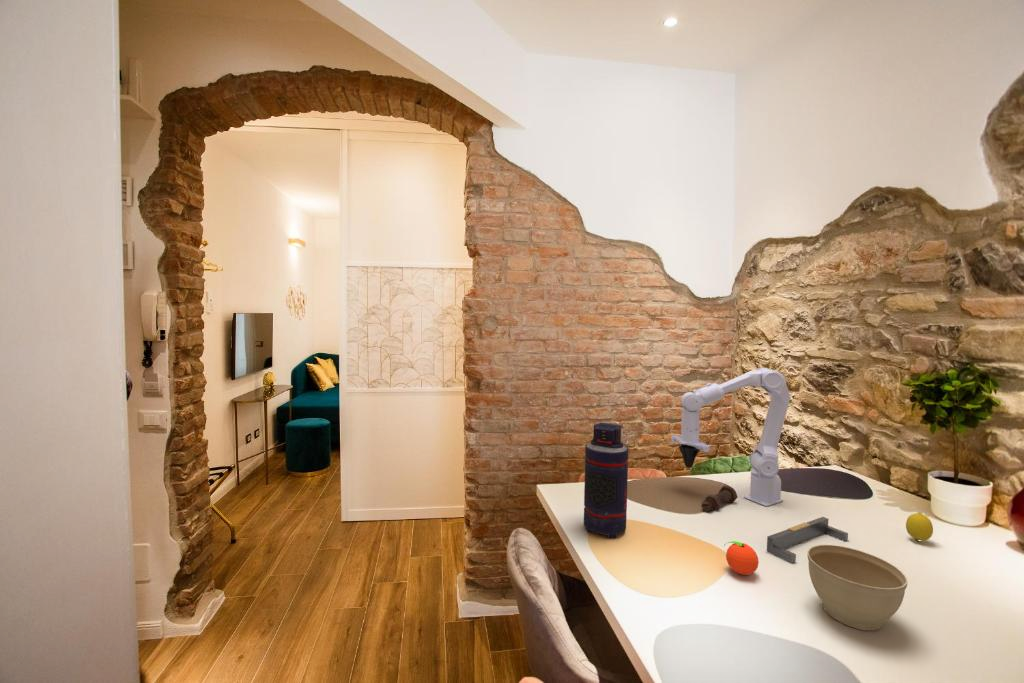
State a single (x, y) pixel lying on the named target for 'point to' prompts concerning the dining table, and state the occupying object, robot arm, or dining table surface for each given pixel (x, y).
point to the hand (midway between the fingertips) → (688, 466)
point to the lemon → (919, 526)
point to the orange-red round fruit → (742, 558)
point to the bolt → (719, 498)
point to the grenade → (606, 481)
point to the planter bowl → (856, 585)
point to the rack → (800, 537)
